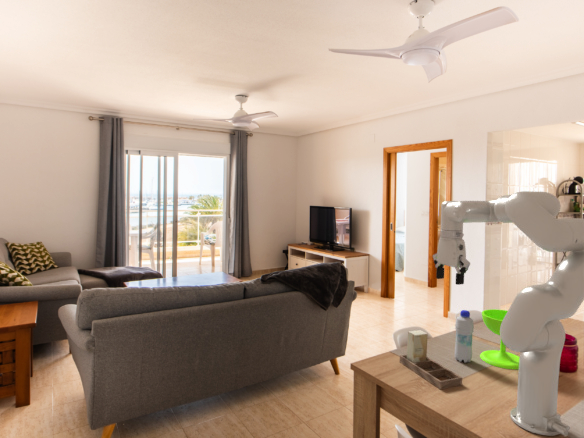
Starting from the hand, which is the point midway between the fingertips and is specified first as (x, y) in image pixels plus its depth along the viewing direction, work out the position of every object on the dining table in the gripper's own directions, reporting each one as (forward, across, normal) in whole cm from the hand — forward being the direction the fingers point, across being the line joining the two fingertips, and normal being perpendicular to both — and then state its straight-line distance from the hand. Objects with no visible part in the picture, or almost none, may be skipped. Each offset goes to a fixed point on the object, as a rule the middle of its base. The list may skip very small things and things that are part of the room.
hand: (449, 281), depth 139 cm
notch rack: (+33, 0, +8) cm, 34 cm away
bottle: (+34, +4, -12) cm, 36 cm away
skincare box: (+33, +7, +8) cm, 35 cm away
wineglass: (+34, -1, -27) cm, 43 cm away
